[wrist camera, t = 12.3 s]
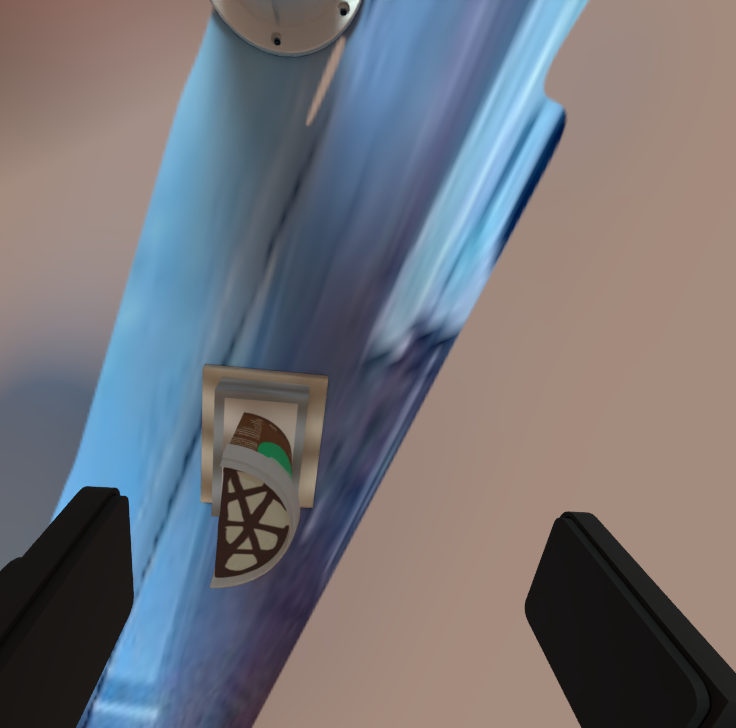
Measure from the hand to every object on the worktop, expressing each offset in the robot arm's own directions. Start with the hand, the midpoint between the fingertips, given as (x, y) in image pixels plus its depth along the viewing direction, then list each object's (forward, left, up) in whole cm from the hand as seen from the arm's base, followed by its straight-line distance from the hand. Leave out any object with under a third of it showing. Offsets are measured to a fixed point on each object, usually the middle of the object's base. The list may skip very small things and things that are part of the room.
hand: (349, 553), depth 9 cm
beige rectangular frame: (+17, -5, -32) cm, 37 cm away
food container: (+16, -4, -28) cm, 33 cm away
